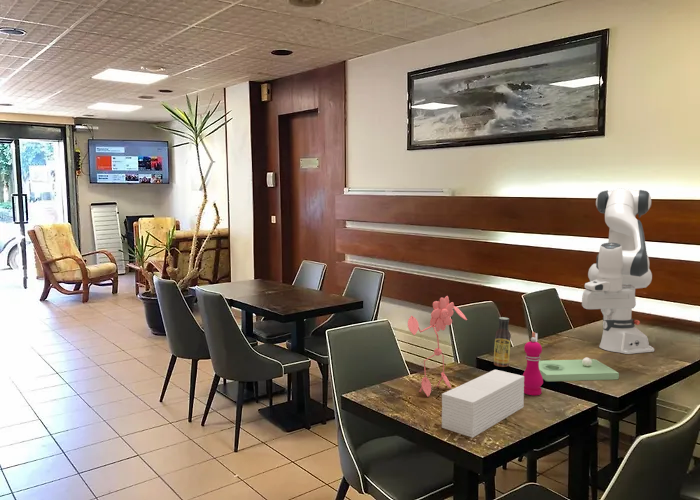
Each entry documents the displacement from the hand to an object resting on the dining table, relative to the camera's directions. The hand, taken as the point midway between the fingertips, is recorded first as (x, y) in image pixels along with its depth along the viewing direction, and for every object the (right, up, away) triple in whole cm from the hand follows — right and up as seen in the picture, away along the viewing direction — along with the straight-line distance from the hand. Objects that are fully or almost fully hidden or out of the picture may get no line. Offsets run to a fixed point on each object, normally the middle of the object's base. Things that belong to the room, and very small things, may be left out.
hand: (608, 319), depth 220 cm
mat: (-14, -21, +1) cm, 25 cm away
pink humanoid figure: (-68, -24, -21) cm, 76 cm away
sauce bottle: (-39, -20, +11) cm, 45 cm away
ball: (-8, -17, +1) cm, 18 cm away
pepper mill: (-36, -24, -20) cm, 48 cm away
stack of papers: (-58, -26, -42) cm, 76 cm away
